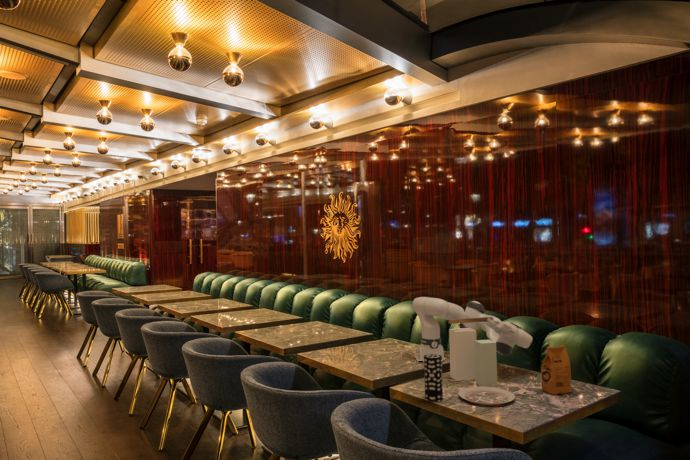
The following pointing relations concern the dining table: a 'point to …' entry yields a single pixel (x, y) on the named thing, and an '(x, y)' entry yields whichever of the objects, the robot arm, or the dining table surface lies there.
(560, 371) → the coffee package
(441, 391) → the white-spotted black cylinder
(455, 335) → the tall stand
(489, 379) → the sage pillar
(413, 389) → the dining table surface
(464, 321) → the stick
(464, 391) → the plate
